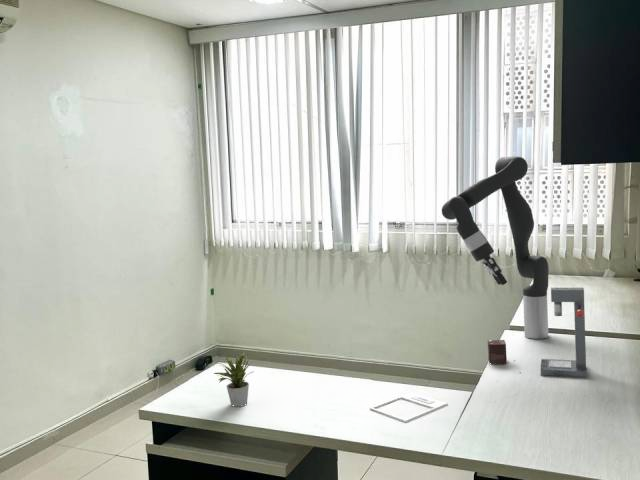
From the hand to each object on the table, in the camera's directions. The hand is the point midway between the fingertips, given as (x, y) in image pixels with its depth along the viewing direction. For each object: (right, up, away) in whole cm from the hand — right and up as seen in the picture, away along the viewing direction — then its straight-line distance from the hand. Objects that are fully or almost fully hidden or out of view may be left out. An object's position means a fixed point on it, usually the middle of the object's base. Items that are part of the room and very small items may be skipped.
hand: (502, 283), depth 219 cm
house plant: (-93, -36, -25) cm, 103 cm away
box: (-2, -28, -2) cm, 28 cm away
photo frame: (-40, -35, -39) cm, 66 cm away
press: (+14, -28, -19) cm, 37 cm away
